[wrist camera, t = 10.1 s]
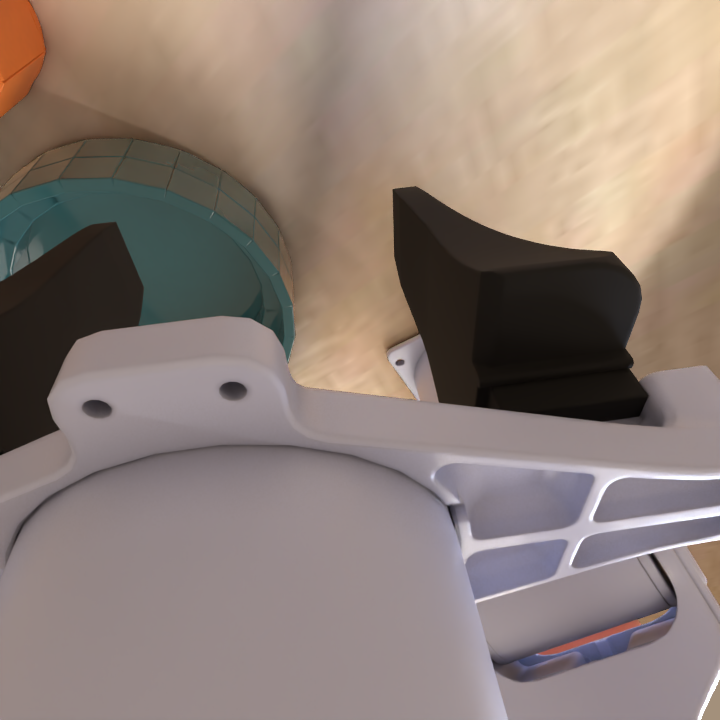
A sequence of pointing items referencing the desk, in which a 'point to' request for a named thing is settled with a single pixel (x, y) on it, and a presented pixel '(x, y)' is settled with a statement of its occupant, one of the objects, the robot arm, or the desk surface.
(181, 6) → the desk surface
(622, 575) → the robot arm
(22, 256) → the bowl
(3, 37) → the scoop
